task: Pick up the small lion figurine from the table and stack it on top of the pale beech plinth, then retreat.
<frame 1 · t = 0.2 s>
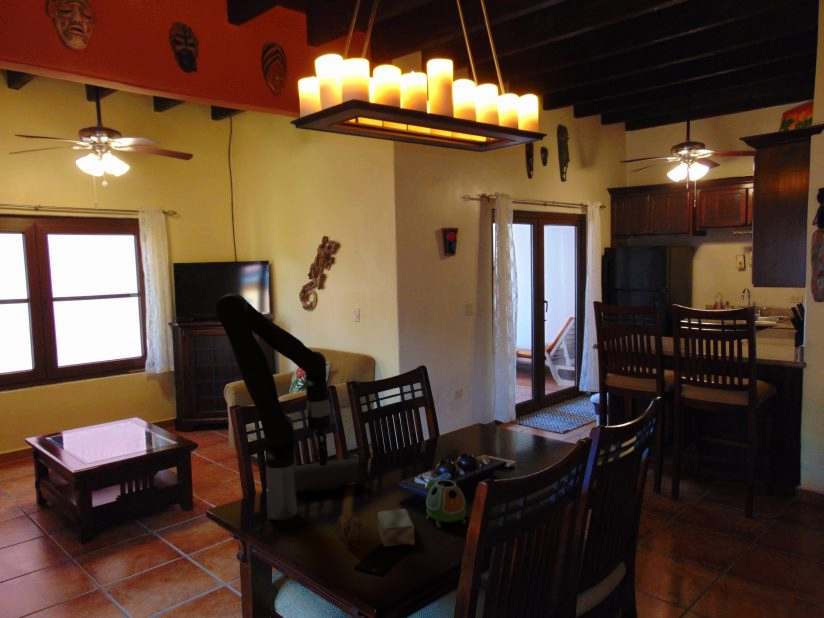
hand: (322, 460, 192), 17 cm above the table, tool pointing down, fingers open, 8 cm apart
cell phone: (384, 559, 163), on the table
turtle holder: (443, 518, 187), on the table
lion figurine: (349, 542, 172), on the table
plinth: (395, 536, 175), on the table
bluetooth speaker: (326, 489, 214), on the table
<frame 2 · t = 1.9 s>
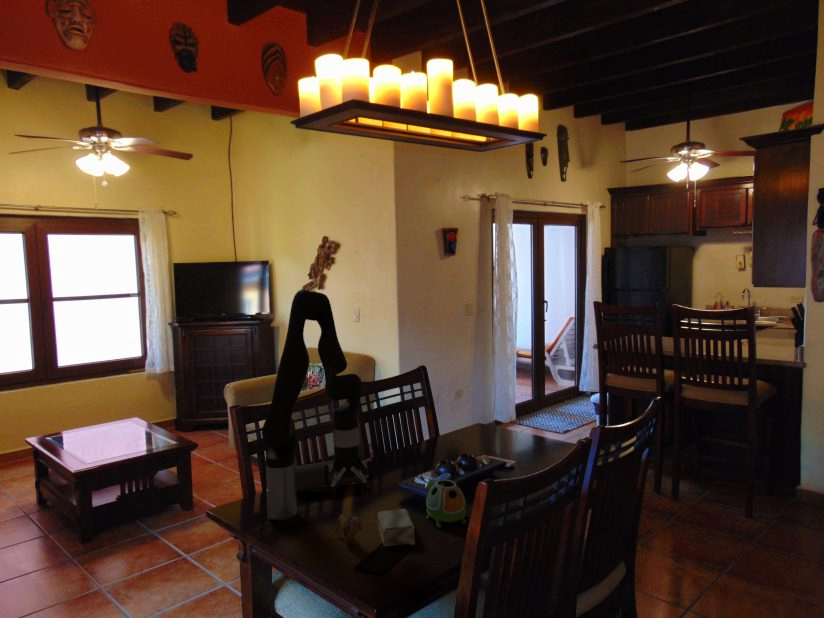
hand: (349, 496, 172), 14 cm above the table, tool pointing down, fingers open, 8 cm apart
nothing on the table moved.
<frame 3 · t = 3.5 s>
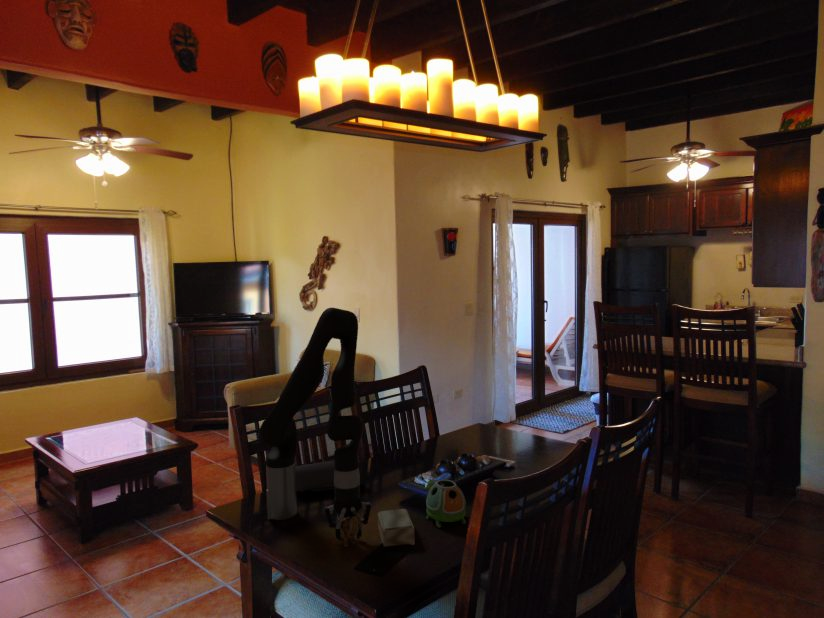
hand: (348, 538, 172), 1 cm above the table, tool pointing down, fingers closed on lion figurine, 5 cm apart
lion figurine: (348, 540, 173), on the table, touching gripper
everything else where it was.
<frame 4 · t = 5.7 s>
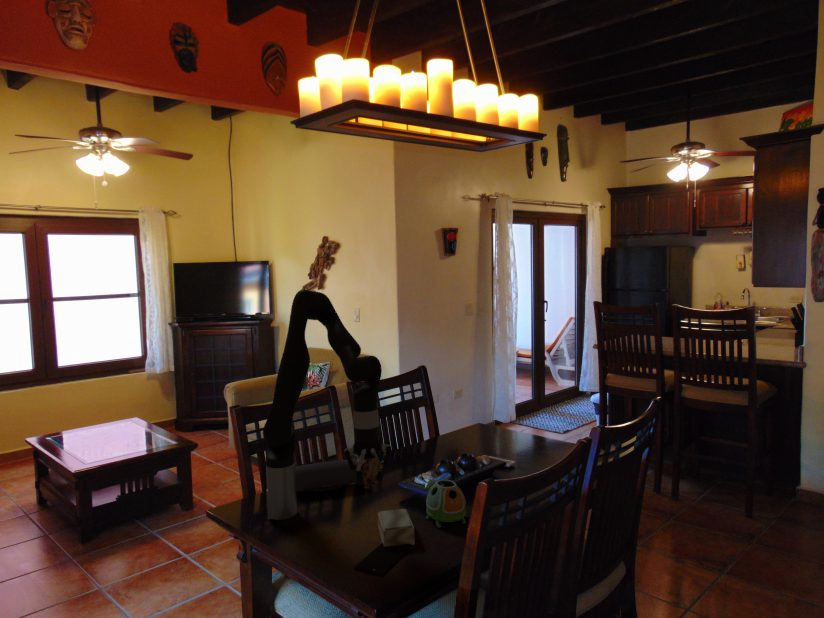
hand: (369, 480, 172), 18 cm above the table, tool pointing down, fingers closed on lion figurine, 4 cm apart
lion figurine: (368, 483, 173), point 17 cm above the table, touching gripper
everything else where it was.
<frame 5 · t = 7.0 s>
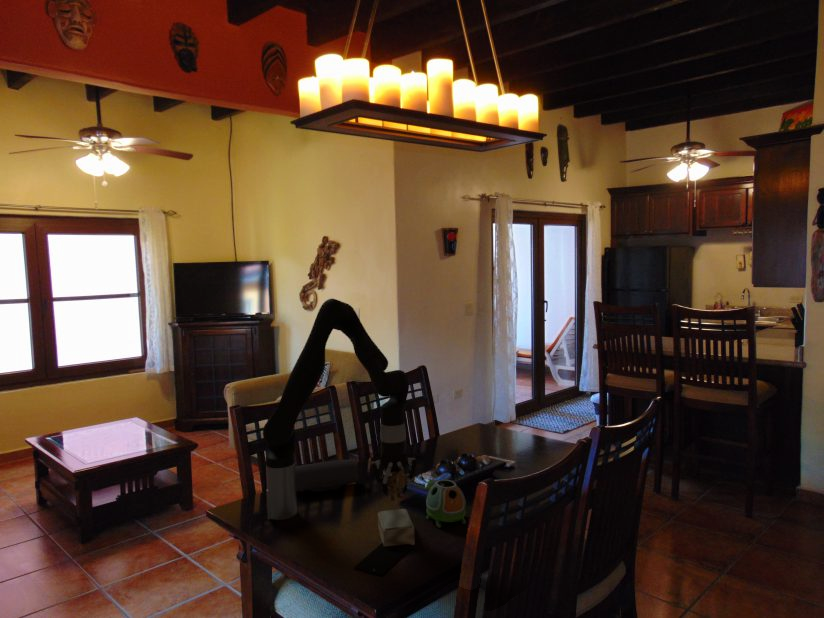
hand: (394, 493, 174), 13 cm above the table, tool pointing down, fingers closed on lion figurine, 4 cm apart
lion figurine: (394, 496, 175), point 12 cm above the table, touching gripper
everything else where it was.
when the fingers open (8 cm above the table, at t = 8.3 s): lion figurine drops 1 cm, resting on plinth.
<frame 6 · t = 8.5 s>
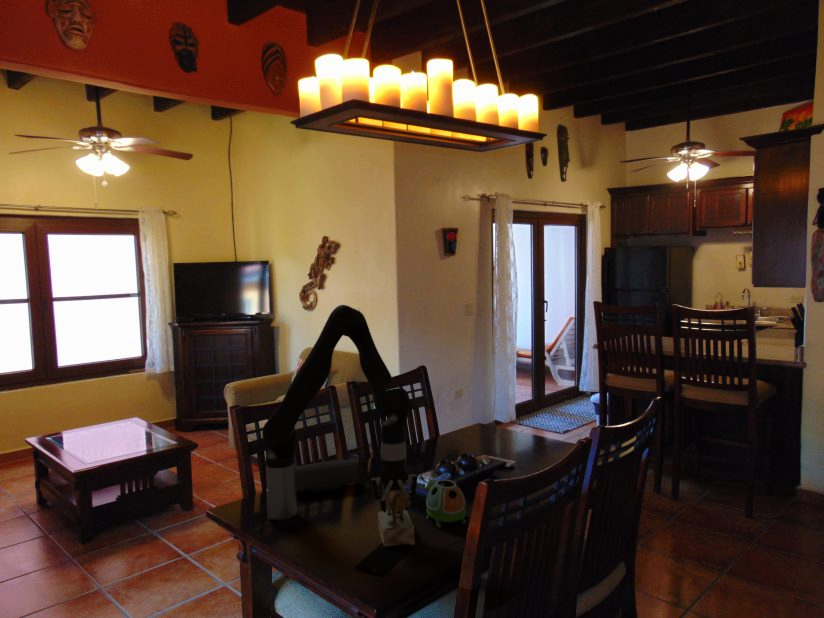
hand: (395, 510, 174), 8 cm above the table, tool pointing down, fingers open, 6 cm apart
lion figurine: (397, 517, 175), point 5 cm above the table, touching gripper, plinth
everything else where it was.
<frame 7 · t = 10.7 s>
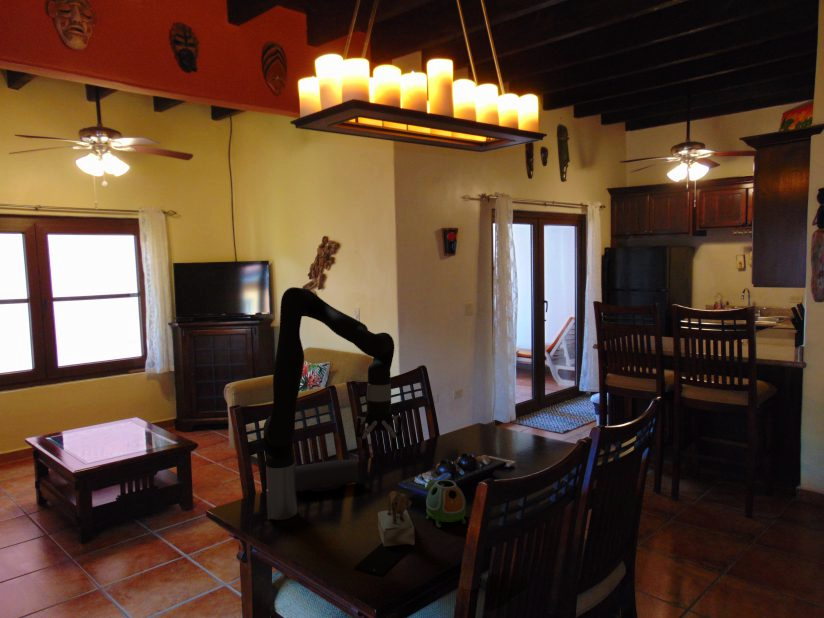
hand: (378, 449, 181), 24 cm above the table, tool pointing down, fingers open, 8 cm apart
lion figurine: (397, 518, 175), point 5 cm above the table, touching plinth
everything else where it was.
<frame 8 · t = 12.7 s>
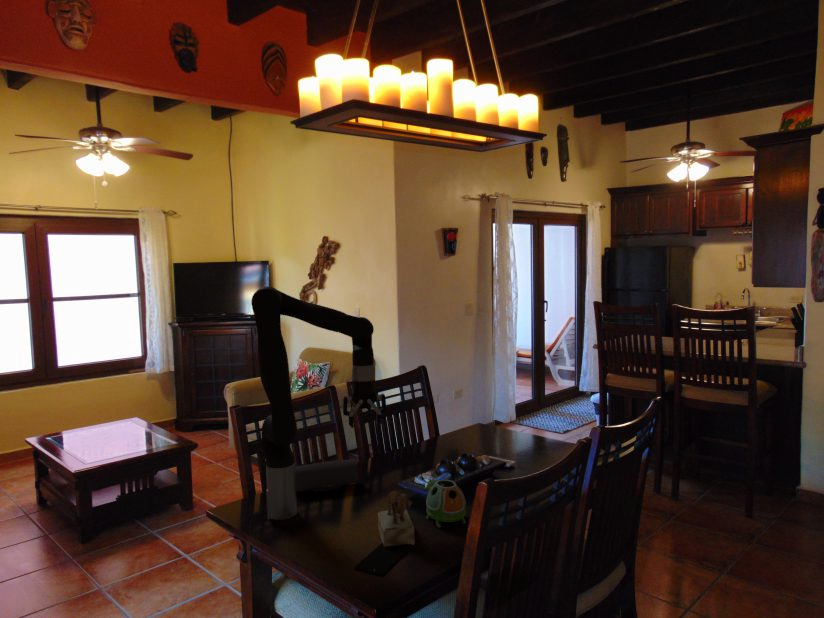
hand: (365, 426, 193), 28 cm above the table, tool pointing down, fingers open, 8 cm apart
nothing on the table moved.
at the end: lion figurine inside the target area on the plinth (1.0 cm from its centre), point 5.4 cm above the plinth's base; lion figurine tilted 0°; the gripper is holding nothing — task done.
